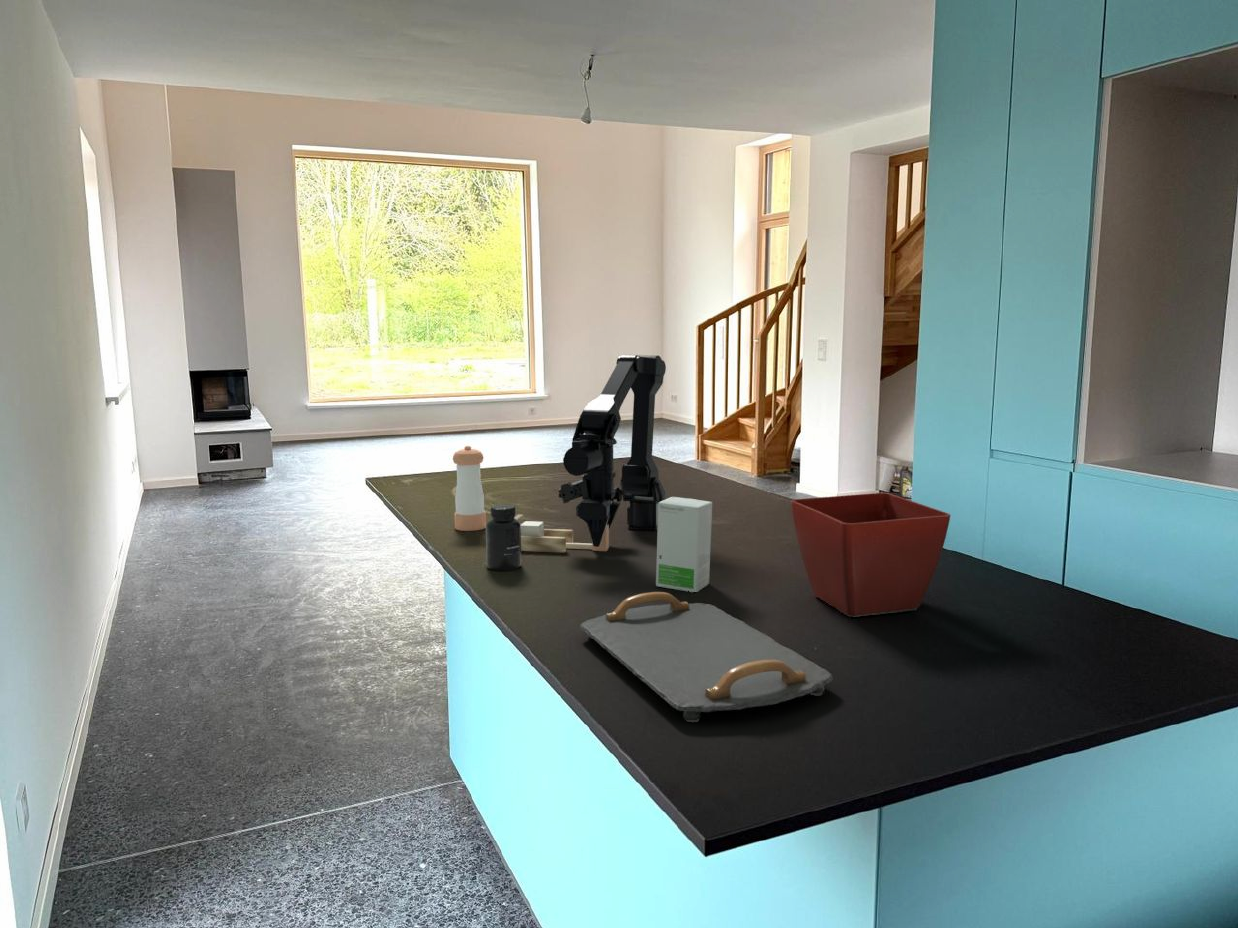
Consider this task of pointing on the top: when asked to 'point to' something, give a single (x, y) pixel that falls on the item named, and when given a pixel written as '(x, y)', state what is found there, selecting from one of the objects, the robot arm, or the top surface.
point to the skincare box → (683, 544)
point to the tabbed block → (538, 530)
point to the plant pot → (869, 550)
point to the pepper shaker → (469, 491)
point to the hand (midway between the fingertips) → (600, 541)
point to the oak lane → (546, 539)
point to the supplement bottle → (503, 539)
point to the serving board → (702, 656)
